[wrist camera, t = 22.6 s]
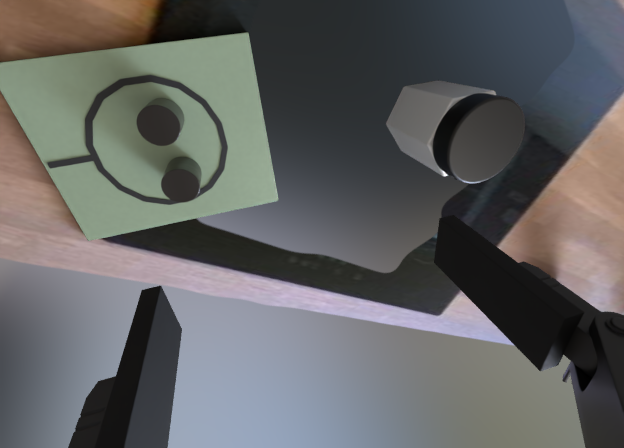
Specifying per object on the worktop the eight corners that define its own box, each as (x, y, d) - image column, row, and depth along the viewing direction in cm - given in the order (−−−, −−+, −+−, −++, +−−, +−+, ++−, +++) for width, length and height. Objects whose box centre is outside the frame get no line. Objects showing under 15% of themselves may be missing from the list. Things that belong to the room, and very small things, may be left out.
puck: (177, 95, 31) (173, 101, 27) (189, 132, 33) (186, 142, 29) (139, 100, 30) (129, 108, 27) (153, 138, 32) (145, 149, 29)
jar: (384, 155, 41) (439, 193, 31) (385, 87, 36) (449, 106, 26) (446, 142, 42) (518, 174, 32) (454, 75, 38) (539, 89, 28)
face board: (247, 32, 30) (248, 32, 30) (277, 198, 40) (278, 201, 39) (-10, 63, 27) (-17, 64, 26) (90, 237, 36) (87, 241, 36)
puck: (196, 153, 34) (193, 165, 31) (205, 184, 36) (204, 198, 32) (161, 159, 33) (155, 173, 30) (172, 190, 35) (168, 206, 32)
